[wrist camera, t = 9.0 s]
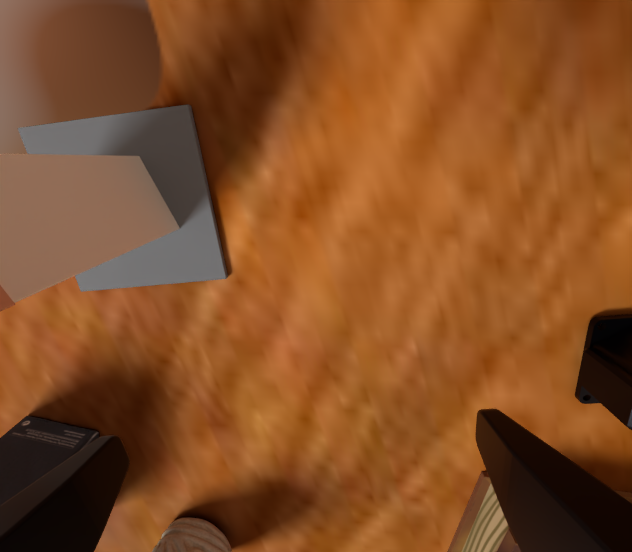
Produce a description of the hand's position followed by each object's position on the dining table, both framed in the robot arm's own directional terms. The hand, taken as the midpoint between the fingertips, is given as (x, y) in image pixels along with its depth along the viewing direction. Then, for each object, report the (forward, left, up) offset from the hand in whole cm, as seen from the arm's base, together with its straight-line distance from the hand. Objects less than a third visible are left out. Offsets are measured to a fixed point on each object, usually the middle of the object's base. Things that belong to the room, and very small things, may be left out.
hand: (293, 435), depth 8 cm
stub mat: (+11, -5, -13) cm, 18 cm away
